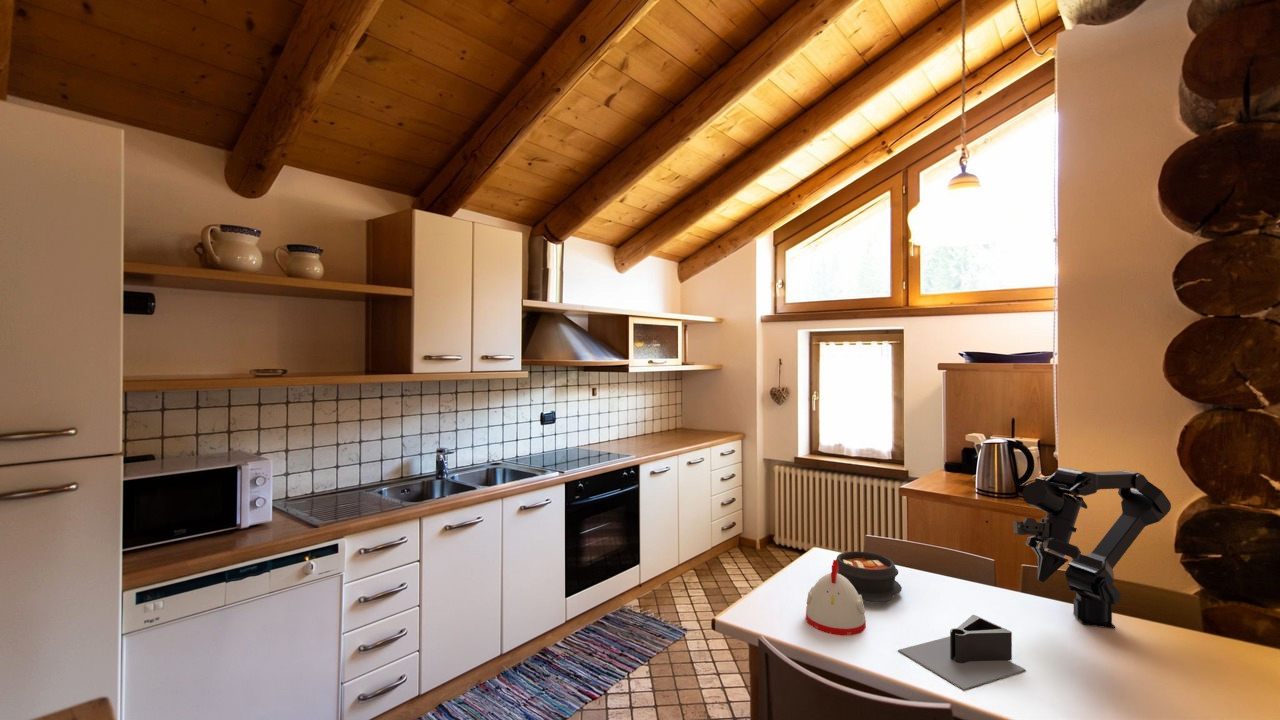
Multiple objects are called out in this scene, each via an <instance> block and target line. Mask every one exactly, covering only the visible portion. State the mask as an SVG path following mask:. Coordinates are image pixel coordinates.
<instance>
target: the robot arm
mask: <svg viewBox="0 0 1280 720" xmlns="http://www.w3.org/2000/svg"><path fill="white" fill-rule="evenodd" d="M1100 490H1118V493H1117V494H1118V496H1119V497H1120V498H1121V501H1120V502H1121V503H1120V504H1121V511H1122V513H1121V514H1120V515H1119V517H1118V518H1117V519H1116V520H1115V522H1114V523H1113V525H1112V526H1111V528H1109V530H1108V531H1107V532H1106V533H1105V535H1104V536H1103V538H1102V539H1101V540H1100V541H1099V542H1098V544H1096V546H1095V548H1094V549H1093V550H1092V551H1091V553H1089V554H1083V553H1082V552H1081V550H1080V548H1079V547H1078V546H1076V545H1075V544H1071V543H1070V541H1071V539H1072V535H1073V533H1077V528H1076V527H1075V525H1076V523H1077V521H1078V520H1077V519H1078V517H1079V513H1080V510H1081V509H1085V510H1087V509H1088V505H1087V503H1086V501H1084V498H1083V497H1086V496H1090V495H1094V494H1097V492H1098V491H1100ZM1021 495H1022V499H1023V500H1024V502H1025V503H1027V504H1028V505H1029V506H1032V507H1034V508H1036V509H1039V510H1040V511H1043V512H1045V513H1046V515H1045V517H1042V518H1040V519H1039V522H1037V520H1036V519H1035V518H1034V517H1025V518H1024V520H1023V521H1018V520H1017V521H1015V520H1013V521H1012V522H1013V524H1012V525H1013V535H1020V536H1026V535H1028V537H1027V538H1026V541H1025V544H1024V545H1026V546H1027V547H1030V548H1031V550H1032V551H1033V552H1034V554H1035V555H1036V557H1037V581H1039V582H1042V583H1045V582H1046V581H1047V580H1048V579H1049V578H1051V576H1053V574H1054V573H1055V572H1056V571H1058V570H1059V569H1060V568H1061V567H1062V566H1064V565H1065V564H1066V563H1067V565H1068V566H1067V568H1065V573H1064V574H1065V580H1066V582H1067V583H1066V584H1067V586H1068V589H1069V591H1070V592H1074V593H1075V597H1074V598H1073V612H1072V615H1073V616H1075V617H1076V619H1078V620H1079V622H1080V623H1081V624H1082V625H1085V626H1090V627H1091V626H1092V627H1100V628H1105V629H1106V628H1107V629H1116V625H1114V624H1113V606H1114V605H1116V604H1117V603H1119V602H1120V599H1121V592H1120V591H1119V589H1117V587H1116V586H1115V585H1114V582H1115V576H1114V568H1115V566H1116V565H1117V564H1118V562H1119V561H1120V560H1121V559H1122V557H1123V556H1124V555H1125V553H1126V552H1127V551H1128V549H1129V548H1130V547H1131V546H1132V544H1133V543H1134V541H1136V539H1137V538H1138V537H1139V535H1140V534H1141V532H1142V531H1143V530H1144V529H1145V527H1147V526H1150V525H1154V524H1157V523H1159V522H1161V521H1162V520H1163V519H1164V518H1165V517H1166V516H1167V515H1168V514H1169V512H1170V511H1171V509H1172V508H1171V507H1172V504H1171V501H1170V500H1169V499H1168V497H1167V495H1165V493H1164V492H1163V490H1162V489H1160V488H1159V487H1157V486H1156V485H1154V484H1153V483H1152V482H1150V481H1149V480H1148V479H1147V477H1145V475H1144V474H1142V473H1140V472H1136V471H1130V470H1124V469H1122V470H1121V469H1120V470H1112V471H1108V470H1107V471H1083V470H1079V469H1072V468H1069V467H1068V468H1067V467H1058V468H1056V471H1055V472H1054V473H1052V474H1051V475H1050V476H1048V477H1047V478H1046V479H1044V478H1040V477H1035V480H1034V481H1032V482H1030V483H1028V484H1027V485H1025V487H1024V488H1023V490H1022V493H1021ZM1082 496H1083V497H1082ZM1030 535H1031V536H1030ZM1066 556H1067V557H1069V558H1071V559H1072V560H1071V561H1070V562H1069V559H1068V558H1066ZM1068 562H1069V563H1068Z"/></svg>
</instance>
